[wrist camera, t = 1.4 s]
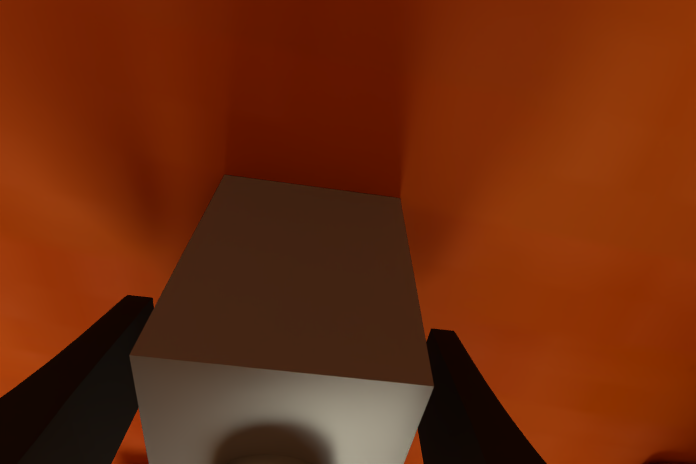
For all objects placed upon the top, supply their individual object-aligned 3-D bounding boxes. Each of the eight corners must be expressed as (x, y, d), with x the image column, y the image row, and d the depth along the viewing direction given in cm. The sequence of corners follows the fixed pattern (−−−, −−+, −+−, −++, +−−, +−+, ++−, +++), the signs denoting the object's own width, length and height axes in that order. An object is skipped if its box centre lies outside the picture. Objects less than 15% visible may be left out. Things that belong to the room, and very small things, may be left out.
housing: (399, 197, 12) (442, 435, 6) (358, 369, 16) (361, 613, 10) (225, 173, 12) (103, 402, 6) (226, 355, 15) (153, 599, 10)
